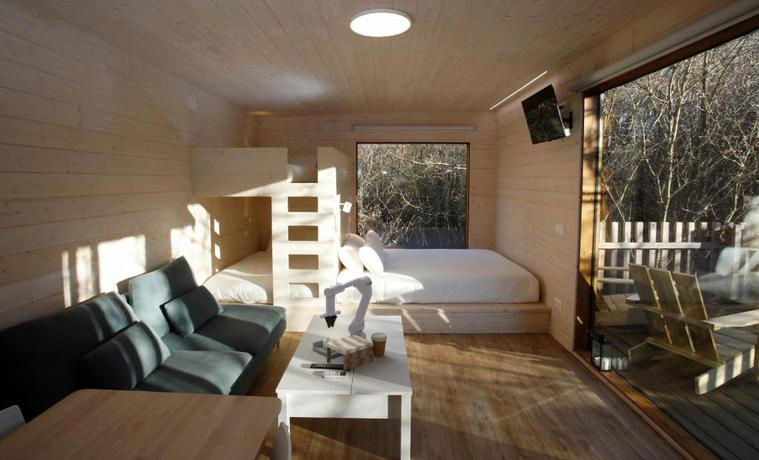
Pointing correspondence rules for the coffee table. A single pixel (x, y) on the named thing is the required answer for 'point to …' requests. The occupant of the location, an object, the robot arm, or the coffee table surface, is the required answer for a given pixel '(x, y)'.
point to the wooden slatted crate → (352, 350)
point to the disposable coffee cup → (379, 344)
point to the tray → (320, 349)
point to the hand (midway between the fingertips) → (330, 327)
